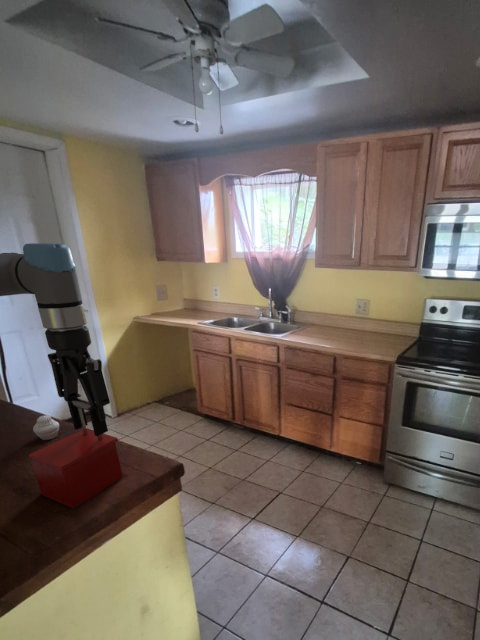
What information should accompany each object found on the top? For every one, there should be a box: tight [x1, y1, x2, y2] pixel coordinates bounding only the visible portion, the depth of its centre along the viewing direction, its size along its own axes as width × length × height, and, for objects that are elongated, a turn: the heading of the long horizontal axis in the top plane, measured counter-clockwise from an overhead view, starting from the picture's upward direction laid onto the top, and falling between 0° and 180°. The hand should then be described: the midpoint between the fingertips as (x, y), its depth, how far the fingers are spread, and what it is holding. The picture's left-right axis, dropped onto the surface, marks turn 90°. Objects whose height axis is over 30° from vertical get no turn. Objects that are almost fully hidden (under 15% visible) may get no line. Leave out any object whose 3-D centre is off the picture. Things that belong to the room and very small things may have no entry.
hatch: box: [28, 397, 119, 470], centre depth 78 cm, size 13×10×10 cm
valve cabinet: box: [29, 442, 124, 509], centre depth 82 cm, size 12×10×10 cm
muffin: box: [32, 414, 60, 441], centre depth 103 cm, size 6×6×7 cm
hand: (91, 429), depth 83 cm, fingers closed on hatch, 6 cm apart
